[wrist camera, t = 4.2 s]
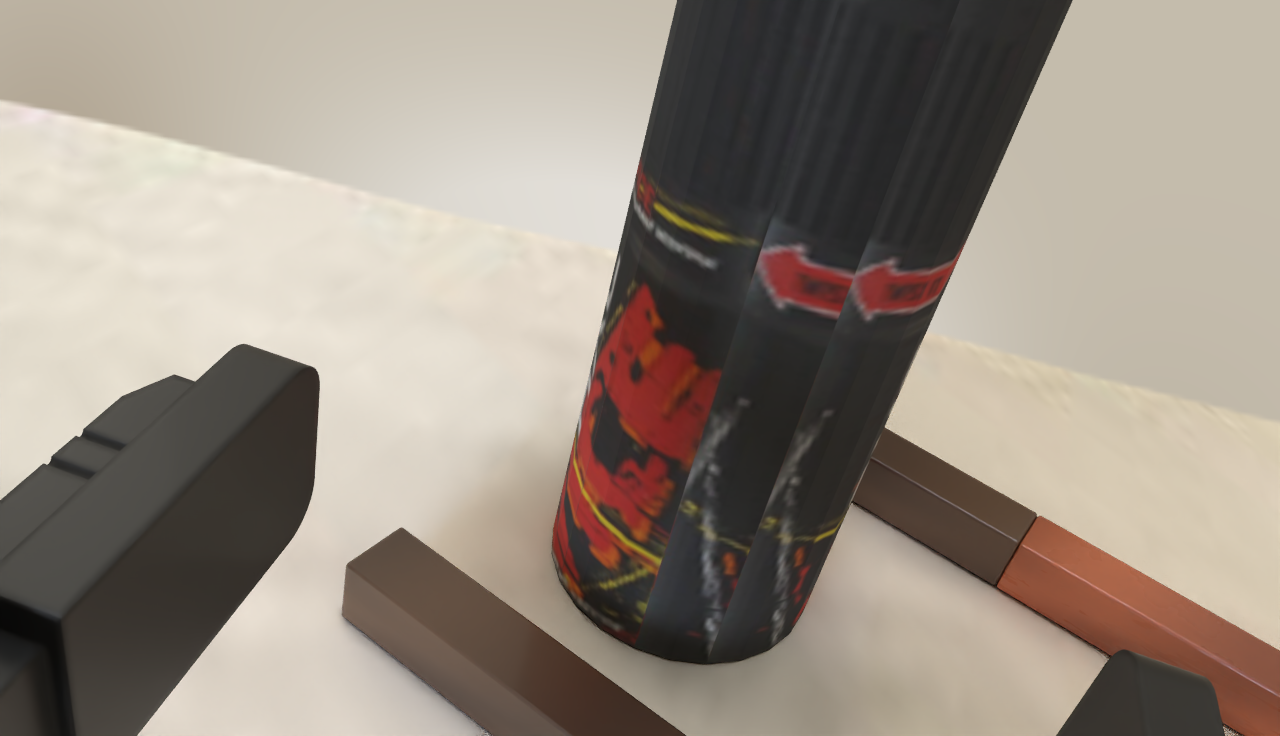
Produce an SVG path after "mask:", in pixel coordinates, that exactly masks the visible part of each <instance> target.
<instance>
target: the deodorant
mask: <svg viewBox="0 0 1280 736" xmlns="http://www.w3.org/2000/svg"><path fill="white" fill-rule="evenodd" d="M1071 3H1072V0H677V4H676V8H675V12H674V17H673V21H672V25H671V29H670V34H669V38H668V42H667V46H666V51H665V55H664V59H663V64H662V68H661V72H660V76H659V80H658V84H657V89H656V93H655V97H654V102H653V106H652V110H651V114H650V119H649V123H648V127H647V132H646V136H645V140H644V145H643V149H642V153H641V157H640V161H639V165H638V170H637V174H636V178H635V183H634V187H633V191H632V195H631V200H630V204H629V208H628V212H627V217H626V221H625V225H624V229H623V234H622V238H621V242H620V246H619V251H618V255H617V259H616V263H615V268H614V272H613V276H612V280H611V285H610V289H609V293H608V297H607V302H606V306H605V310H604V315H603V319H602V323H601V327H600V332H599V336H598V340H597V344H596V349H595V353H594V357H593V361H592V366H591V370H590V374H589V378H588V383H587V387H586V391H585V395H584V400H583V404H582V408H581V412H580V417H579V421H578V425H577V430H576V434H575V438H574V442H573V447H572V451H571V455H570V459H569V464H568V468H567V472H566V476H565V481H564V485H563V489H562V493H561V498H560V502H559V506H558V510H557V515H556V519H555V523H554V528H553V541H552V556H553V559H554V562H555V566H556V569H557V573H558V576H559V579H560V581H561V583H562V584H563V586H564V587H565V589H566V590H567V592H568V593H569V595H570V596H571V598H572V599H573V601H574V602H575V604H576V606H577V607H579V608H580V609H581V610H582V611H583V612H584V613H585V614H586V615H587V616H588V617H589V618H591V619H592V620H593V621H594V622H595V623H596V624H597V625H598V626H599V627H600V628H601V629H603V630H605V631H606V632H608V633H610V634H611V635H613V636H615V637H617V638H618V639H620V640H622V641H624V642H625V643H627V644H629V645H630V646H632V647H634V648H637V649H640V650H643V651H646V652H649V653H652V654H655V655H658V656H661V657H664V658H666V659H669V660H677V661H685V662H694V663H702V664H711V663H721V662H731V661H740V660H743V659H745V658H748V657H751V656H753V655H756V654H759V653H761V652H764V651H767V650H769V649H770V648H772V647H773V646H774V645H775V644H777V643H778V642H779V641H780V640H782V639H783V638H784V637H786V636H787V635H788V634H789V633H790V632H791V631H792V629H793V627H794V626H795V624H796V622H797V621H798V619H799V617H800V616H801V614H802V612H803V610H804V608H805V606H806V603H807V601H808V599H809V597H810V594H811V592H812V590H813V588H814V585H815V583H816V581H817V579H818V576H819V574H820V572H821V569H822V567H823V565H824V563H825V560H826V558H827V556H828V554H829V551H830V549H831V547H832V544H833V542H834V540H835V538H836V535H837V533H838V531H839V529H840V526H841V524H842V522H843V520H844V517H845V515H846V513H847V510H848V508H849V506H850V504H851V501H852V499H853V497H854V495H855V492H856V490H857V488H858V486H859V483H860V481H861V479H862V476H863V474H864V472H865V470H866V467H867V465H868V463H869V461H870V458H871V456H872V454H873V452H874V449H875V447H876V445H877V442H878V440H879V438H880V436H881V433H882V431H883V429H884V427H885V424H886V422H887V420H888V418H889V415H890V413H891V411H892V408H893V406H894V404H895V402H896V399H897V397H898V395H899V393H900V390H901V388H902V386H903V384H904V381H905V379H906V377H907V374H908V372H909V370H910V368H911V365H912V363H913V361H914V359H915V356H916V354H917V352H918V350H919V347H920V345H921V343H922V340H923V338H924V336H925V334H926V331H927V329H928V327H929V325H930V322H931V320H932V318H933V316H934V313H935V311H936V309H937V306H938V304H939V302H940V299H941V297H942V295H943V293H944V290H945V288H946V286H947V284H948V282H949V279H950V277H951V275H952V272H953V270H954V268H955V265H956V263H957V261H958V259H959V257H960V254H961V252H962V250H963V247H964V245H965V243H966V240H967V238H968V236H969V234H970V232H971V229H972V227H973V225H974V223H975V220H976V218H977V216H978V213H979V211H980V208H981V207H982V204H983V202H984V200H985V198H986V195H987V193H988V191H989V188H990V186H991V184H992V182H993V179H994V177H995V175H996V173H997V170H998V168H999V166H1000V163H1001V161H1002V159H1003V157H1004V154H1005V152H1006V150H1007V148H1008V145H1009V143H1010V141H1011V139H1012V136H1013V134H1014V132H1015V130H1016V127H1017V125H1018V123H1019V120H1020V118H1021V116H1022V114H1023V111H1024V109H1025V107H1026V105H1027V102H1028V100H1029V98H1030V95H1031V93H1032V91H1033V89H1034V87H1035V84H1036V82H1037V80H1038V77H1039V75H1040V73H1041V71H1042V68H1043V66H1044V64H1045V62H1046V59H1047V57H1048V55H1049V53H1050V50H1051V48H1052V46H1053V43H1054V41H1055V39H1056V37H1057V34H1058V32H1059V30H1060V28H1061V25H1062V23H1063V21H1064V19H1065V16H1066V14H1067V11H1068V9H1069V7H1070V5H1071Z"/></svg>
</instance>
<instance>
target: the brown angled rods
mask: <svg viewBox="0 0 1280 736" xmlns="http://www.w3.org/2000/svg"><path fill="white" fill-rule="evenodd" d="M852 501H854V502H855V503H857V504H859V505H860V506H862V507H864V508H865V509H867V510H869V511H870V512H872V513H874V514H875V515H877V516H879V517H880V518H882V519H884V520H885V521H887V522H889V523H890V524H892V525H894V526H895V527H897V528H899V529H900V530H902V531H904V532H905V533H907V534H909V535H910V536H912V537H914V538H915V539H917V540H919V541H920V542H922V543H924V544H925V545H927V546H929V547H930V548H932V549H934V550H935V551H937V552H939V553H941V554H942V555H944V556H946V557H947V558H949V559H951V560H952V561H954V562H956V563H957V564H959V565H961V566H962V567H964V568H966V569H967V570H969V571H971V572H972V573H974V574H976V575H977V576H979V577H981V578H982V579H984V580H986V581H987V582H989V583H991V584H993V585H995V584H997V587H998V588H999V589H1000V590H1002V591H1004V592H1005V593H1007V594H1009V595H1010V596H1012V597H1014V598H1015V599H1017V600H1019V601H1021V602H1022V603H1024V604H1026V605H1027V606H1029V607H1031V608H1032V609H1034V610H1036V611H1037V612H1039V613H1041V614H1042V615H1044V616H1046V617H1047V618H1049V619H1051V620H1052V621H1054V622H1056V623H1057V624H1059V625H1061V626H1062V627H1064V628H1066V629H1067V630H1069V631H1071V632H1072V633H1074V634H1076V635H1077V636H1079V637H1081V638H1082V639H1084V640H1086V641H1087V642H1089V643H1091V644H1092V645H1094V646H1096V647H1097V648H1099V649H1101V650H1102V651H1104V652H1106V653H1107V654H1109V655H1111V656H1113V655H1114V654H1115V653H1116V652H1118V651H1119V650H1123V649H1125V650H1129V651H1132V652H1135V653H1138V654H1141V655H1144V656H1147V657H1149V658H1152V659H1155V660H1158V661H1161V662H1164V663H1167V664H1170V665H1173V666H1176V667H1179V668H1181V669H1184V670H1187V671H1190V672H1193V673H1196V674H1199V675H1202V676H1204V677H1206V678H1208V679H1209V680H1210V682H1211V683H1212V685H1213V687H1214V689H1215V692H1216V696H1217V700H1218V705H1219V710H1220V715H1221V719H1222V723H1224V724H1226V725H1227V726H1229V727H1231V728H1232V729H1234V730H1236V731H1237V732H1239V733H1241V734H1242V735H1244V736H1280V651H1279V650H1277V649H1276V648H1274V647H1272V646H1270V645H1269V644H1267V643H1265V642H1263V641H1262V640H1260V639H1258V638H1256V637H1254V636H1253V635H1251V634H1249V633H1247V632H1246V631H1244V630H1242V629H1240V628H1239V627H1237V626H1235V625H1233V624H1231V623H1230V622H1228V621H1226V620H1224V619H1223V618H1221V617H1219V616H1217V615H1216V614H1214V613H1212V612H1210V611H1208V610H1207V609H1205V608H1203V607H1201V606H1200V605H1198V604H1196V603H1194V602H1193V601H1191V600H1189V599H1187V598H1185V597H1184V596H1182V595H1180V594H1178V593H1177V592H1175V591H1173V590H1171V589H1170V588H1168V587H1166V586H1164V585H1162V584H1161V583H1159V582H1157V581H1155V580H1154V579H1152V578H1150V577H1148V576H1147V575H1145V574H1143V573H1141V572H1139V571H1138V570H1136V569H1134V568H1132V567H1131V566H1129V565H1127V564H1125V563H1124V562H1122V561H1120V560H1118V559H1116V558H1115V557H1113V556H1111V555H1109V554H1108V553H1106V552H1104V551H1102V550H1101V549H1099V548H1097V547H1095V546H1093V545H1092V544H1090V543H1088V542H1086V541H1085V540H1083V539H1081V538H1079V537H1078V536H1076V535H1074V534H1072V533H1070V532H1069V531H1067V530H1065V529H1063V528H1062V527H1060V526H1058V525H1056V524H1055V523H1053V522H1051V521H1049V520H1047V519H1046V518H1044V517H1042V516H1038V517H1037V514H1036V513H1035V512H1033V511H1031V510H1030V509H1028V508H1026V507H1024V506H1023V505H1021V504H1019V503H1017V502H1016V501H1014V500H1012V499H1010V498H1008V497H1007V496H1005V495H1003V494H1001V493H1000V492H998V491H996V490H994V489H993V488H991V487H989V486H987V485H985V484H984V483H982V482H980V481H978V480H977V479H975V478H973V477H971V476H969V475H968V474H966V473H964V472H962V471H961V470H959V469H957V468H955V467H954V466H952V465H950V464H948V463H946V462H945V461H943V460H941V459H939V458H938V457H936V456H934V455H932V454H931V453H929V452H927V451H925V450H923V449H922V448H920V447H918V446H916V445H915V444H913V443H911V442H909V441H908V440H906V439H904V438H902V437H900V436H899V435H897V434H895V433H893V432H892V431H890V430H888V429H886V428H885V427H884V429H883V431H882V433H881V436H880V438H879V440H878V442H877V445H876V447H875V449H874V452H873V454H872V456H871V458H870V461H869V463H868V465H867V467H866V470H865V472H864V474H863V476H862V479H861V481H860V483H859V486H858V488H857V490H856V492H855V495H854V497H853V499H852ZM342 615H343V617H344V618H346V619H347V620H348V621H350V622H351V623H352V624H353V625H355V626H356V627H357V628H358V629H360V630H361V631H362V632H363V633H365V634H366V635H367V636H368V637H370V638H371V639H372V640H373V641H375V642H376V643H377V644H379V645H380V646H381V647H382V648H384V649H385V650H386V651H387V652H389V653H390V654H391V655H392V656H394V657H395V658H396V659H397V660H399V661H400V662H401V663H402V664H404V665H405V666H406V667H407V668H409V669H410V670H411V671H413V672H414V673H415V674H416V675H418V676H419V677H420V678H421V679H423V680H424V681H425V682H426V683H428V684H429V685H430V686H431V687H433V688H434V689H435V690H436V691H438V692H439V693H440V694H442V695H443V696H444V697H445V698H447V699H448V700H449V701H450V702H452V703H453V704H454V705H455V706H457V707H458V708H459V709H460V710H462V711H463V712H464V713H465V714H467V715H468V716H469V717H470V718H472V719H473V720H474V721H476V722H477V723H478V724H479V725H481V726H482V727H483V728H484V729H486V730H487V731H488V732H489V733H491V734H492V735H493V736H686V735H685V734H683V733H682V732H681V731H679V730H678V729H676V728H675V727H674V726H672V725H671V724H670V723H668V722H667V721H666V720H664V719H663V718H661V717H660V716H659V715H657V714H656V713H655V712H653V711H652V710H651V709H649V708H648V707H646V706H645V705H644V704H642V703H641V702H640V701H638V700H637V699H636V698H634V697H633V696H631V695H630V694H629V693H627V692H626V691H625V690H623V689H622V688H621V687H619V686H618V685H616V684H615V683H614V682H612V681H611V680H610V679H608V678H607V677H606V676H604V675H603V674H601V673H600V672H599V671H597V670H596V669H595V668H593V667H592V666H590V665H589V664H588V663H586V662H585V661H584V660H582V659H581V658H580V657H578V656H577V655H575V654H574V653H573V652H571V651H570V650H569V649H567V648H566V647H565V646H563V645H562V644H560V643H559V642H558V641H556V640H555V639H554V638H552V637H551V636H550V635H548V634H547V633H545V632H544V631H543V630H541V629H540V628H539V627H537V626H536V625H535V624H533V623H532V622H530V621H529V620H528V619H526V618H525V617H524V616H522V615H521V614H520V613H518V612H517V611H515V610H514V609H513V608H511V607H510V606H509V605H507V604H506V603H504V602H503V601H502V600H500V599H499V598H498V597H496V596H495V595H494V594H492V593H491V592H489V591H488V590H487V589H485V588H484V587H483V586H481V585H480V584H479V583H477V582H476V581H474V580H473V579H472V578H470V577H469V576H468V575H466V574H465V573H464V572H462V571H461V570H459V569H458V568H457V567H455V566H454V565H453V564H451V563H450V562H449V561H447V560H446V559H444V558H443V557H442V556H440V555H439V554H438V553H436V552H435V551H434V550H432V549H431V548H429V547H428V546H427V545H425V544H424V543H423V542H421V541H420V540H419V539H417V538H416V537H414V536H413V535H412V534H410V533H409V532H408V531H406V530H405V529H403V528H399V529H398V530H396V531H395V532H393V533H392V534H390V535H389V536H387V537H386V538H384V539H383V540H381V541H380V542H379V543H377V544H376V545H374V546H373V547H371V548H370V549H368V550H367V551H365V552H364V553H362V554H361V555H359V556H358V557H356V558H355V559H353V560H352V561H350V562H349V563H348V564H347V565H346V573H345V585H344V596H343V608H342Z"/></svg>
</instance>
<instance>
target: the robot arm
mask: <svg viewBox="0 0 1280 736" xmlns="http://www.w3.org/2000/svg"><path fill="white" fill-rule="evenodd" d="M319 391H320V381H319V375H318V372H317V371H316V369H315V368H313V367H311V366H308V365H305V364H302V363H299V362H297V361H294V360H291V359H288V358H285V357H282V356H279V355H276V354H273V353H270V352H267V351H265V350H262V349H259V348H256V347H253V346H250V345H247V344H241V345H238V346H236V347H234V348H232V349H231V350H230V351H229V352H228V353H226V354H225V355H224V356H223V357H222V358H221V359H220V360H219V361H218V362H217V363H216V364H214V365H213V366H212V367H211V368H210V369H209V370H208V371H207V372H206V373H205V374H204V375H202V376H201V377H200V378H199V379H198V380H197V381H196V382H194V381H192V380H189V379H186V378H183V377H180V376H177V375H172V376H170V377H167V378H165V379H162V380H160V381H158V382H155V383H153V384H150V385H148V386H146V387H143V388H141V389H138V390H136V391H134V392H131V393H129V394H126V395H124V396H122V397H121V398H119V399H118V400H117V401H116V402H115V403H114V404H112V405H111V406H110V407H109V408H108V409H107V410H105V411H104V412H103V413H102V414H101V415H100V416H98V417H97V418H96V419H95V420H94V421H93V422H91V423H90V424H89V425H88V426H87V427H86V428H84V429H83V433H82V435H81V436H80V437H77V436H75V437H74V438H73V439H72V440H70V441H69V442H68V443H67V444H66V445H64V446H63V447H62V448H61V449H60V450H59V451H57V452H56V453H55V454H54V455H53V456H52V457H51V461H50V463H49V464H48V465H46V464H42V465H41V466H40V467H39V468H38V469H36V470H35V471H34V472H33V473H32V474H31V475H29V476H28V477H27V478H26V479H25V480H24V481H22V482H21V483H20V484H19V485H18V486H17V487H15V488H14V489H13V490H12V491H11V492H10V493H8V494H7V495H6V496H5V497H4V498H3V499H1V500H0V736H137V735H138V734H139V732H140V731H141V730H142V729H143V727H144V726H145V725H146V723H147V722H148V721H149V720H150V718H151V717H152V716H153V715H154V713H155V712H156V711H157V710H158V708H159V707H160V706H161V704H162V703H163V702H164V701H165V699H166V698H167V697H168V696H169V694H170V693H171V692H172V691H173V689H174V688H175V687H176V685H177V684H178V683H179V682H180V680H181V679H182V678H183V677H184V675H185V674H186V673H187V672H188V670H189V669H190V668H191V666H192V665H193V664H194V663H195V661H196V660H197V659H198V658H199V656H200V655H201V654H202V653H203V651H204V650H205V649H206V647H207V646H208V645H209V644H210V642H211V641H212V640H213V639H214V637H215V636H216V635H217V634H218V632H219V631H220V630H221V628H222V627H223V626H224V625H225V623H226V622H227V621H228V620H229V618H230V617H231V616H232V615H233V613H234V612H235V611H236V609H237V608H238V607H239V606H240V604H241V603H242V602H243V601H244V599H245V598H246V597H247V596H248V594H249V593H250V592H251V591H252V589H253V588H254V587H255V585H256V584H257V583H258V582H259V580H260V579H261V578H262V577H263V575H264V574H265V573H266V572H267V570H268V569H269V568H270V566H271V565H272V564H273V563H274V561H275V560H276V559H277V558H278V556H279V555H280V554H281V553H282V551H283V550H284V549H285V547H286V546H287V545H288V544H289V542H290V541H291V540H292V538H293V537H294V535H295V533H296V532H297V530H298V528H299V526H300V524H301V522H302V520H303V518H304V516H305V514H306V511H307V509H308V506H309V503H310V500H311V496H312V492H313V487H314V479H315V461H316V444H317V426H318V408H319ZM1056 736H1225V733H1224V729H1223V724H1222V719H1221V715H1220V710H1219V705H1218V700H1217V696H1216V692H1215V689H1214V687H1213V685H1212V683H1211V682H1210V680H1209V679H1208V678H1206V677H1204V676H1202V675H1199V674H1196V673H1193V672H1190V671H1187V670H1184V669H1181V668H1179V667H1176V666H1173V665H1170V664H1167V663H1164V662H1161V661H1158V660H1155V659H1152V658H1149V657H1147V656H1144V655H1141V654H1138V653H1135V652H1132V651H1129V650H1125V649H1123V650H1119V651H1118V652H1116V653H1115V654H1114V655H1113V656H1112V657H1111V658H1110V659H1109V660H1108V661H1107V663H1106V664H1105V666H1104V667H1103V669H1102V670H1101V671H1100V673H1099V674H1098V676H1097V677H1096V679H1095V680H1094V682H1093V683H1092V685H1091V686H1090V687H1089V689H1088V690H1087V692H1086V693H1085V695H1084V696H1083V698H1082V699H1081V701H1080V702H1079V703H1078V705H1077V706H1076V708H1075V709H1074V711H1073V712H1072V714H1071V715H1070V717H1069V718H1068V719H1067V721H1066V722H1065V724H1064V725H1063V727H1062V728H1061V730H1060V731H1059V732H1058V734H1057V735H1056Z"/></svg>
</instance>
